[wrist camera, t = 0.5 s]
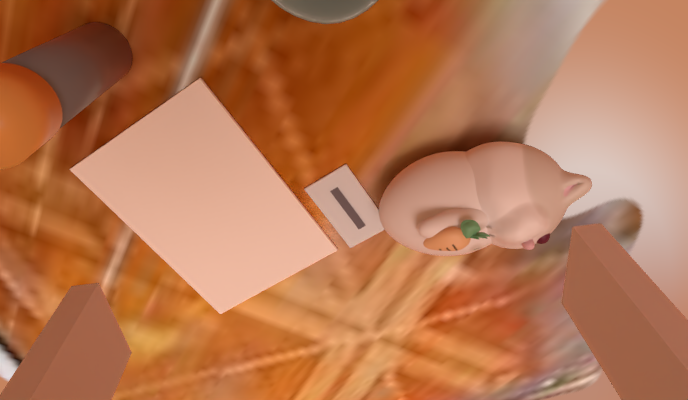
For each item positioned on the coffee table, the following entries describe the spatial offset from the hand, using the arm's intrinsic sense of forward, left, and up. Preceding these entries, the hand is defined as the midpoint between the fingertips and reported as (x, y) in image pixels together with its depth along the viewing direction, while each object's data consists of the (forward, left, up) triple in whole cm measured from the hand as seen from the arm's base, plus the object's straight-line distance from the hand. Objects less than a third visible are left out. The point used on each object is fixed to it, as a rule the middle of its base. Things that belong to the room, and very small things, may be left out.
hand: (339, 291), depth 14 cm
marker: (-9, -13, -25) cm, 29 cm away
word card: (+11, -5, -25) cm, 27 cm away
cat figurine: (+14, +4, -25) cm, 29 cm away
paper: (+5, -15, -25) cm, 29 cm away
